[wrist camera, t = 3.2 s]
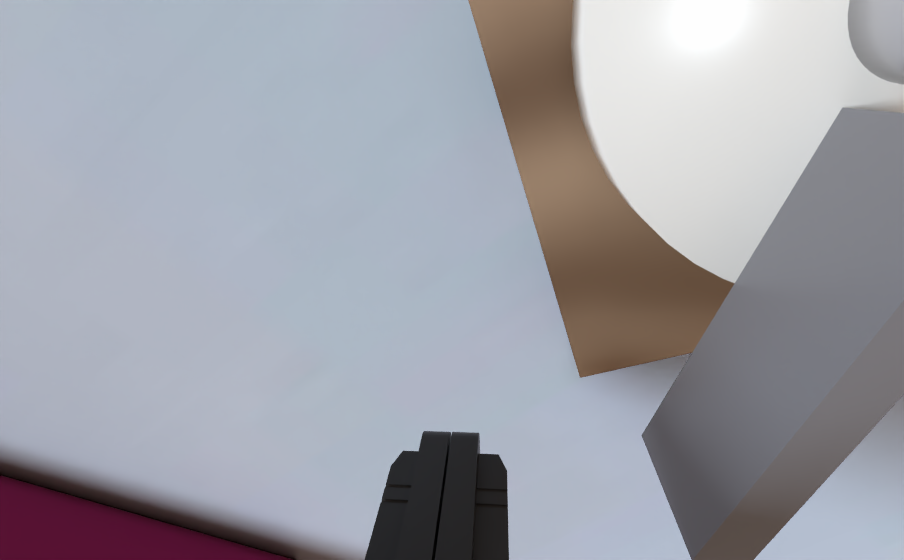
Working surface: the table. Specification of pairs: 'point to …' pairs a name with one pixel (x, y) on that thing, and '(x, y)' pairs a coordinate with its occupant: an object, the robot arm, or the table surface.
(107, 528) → the book
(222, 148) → the table surface
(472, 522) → the robot arm
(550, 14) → the level stand
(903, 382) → the dial
